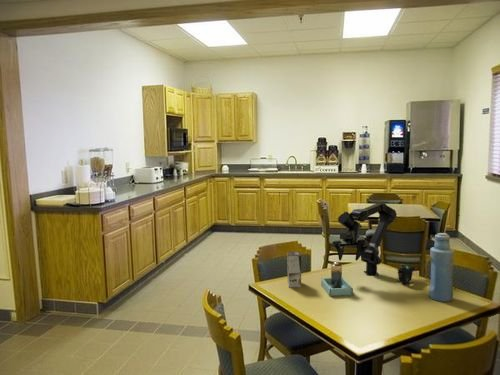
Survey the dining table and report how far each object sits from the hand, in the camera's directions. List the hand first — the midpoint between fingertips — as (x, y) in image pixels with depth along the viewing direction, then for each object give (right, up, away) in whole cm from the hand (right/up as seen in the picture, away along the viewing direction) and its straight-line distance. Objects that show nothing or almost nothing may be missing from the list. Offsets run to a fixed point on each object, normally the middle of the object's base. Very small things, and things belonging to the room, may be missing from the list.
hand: (347, 260), depth 198 cm
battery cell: (-7, -13, -5) cm, 15 cm away
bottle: (+38, -14, -17) cm, 44 cm away
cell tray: (-7, -14, -5) cm, 16 cm away
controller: (+31, -12, +4) cm, 33 cm away
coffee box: (-26, -13, +4) cm, 30 cm away
